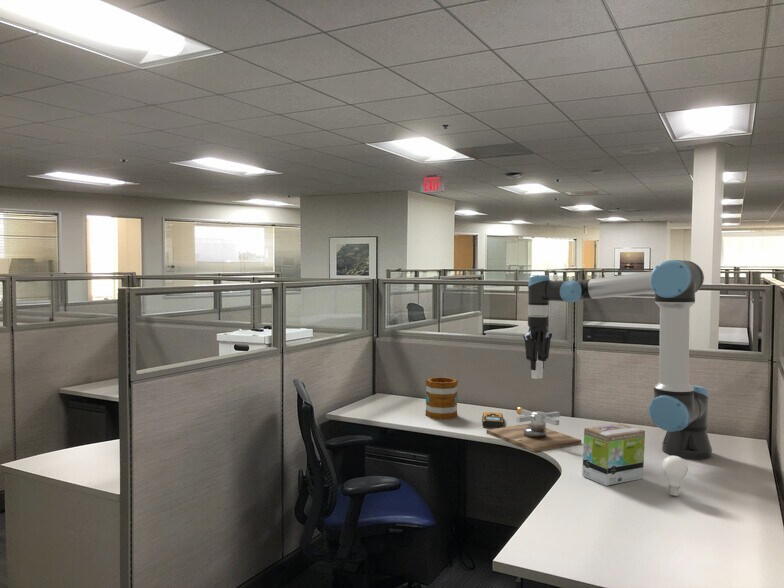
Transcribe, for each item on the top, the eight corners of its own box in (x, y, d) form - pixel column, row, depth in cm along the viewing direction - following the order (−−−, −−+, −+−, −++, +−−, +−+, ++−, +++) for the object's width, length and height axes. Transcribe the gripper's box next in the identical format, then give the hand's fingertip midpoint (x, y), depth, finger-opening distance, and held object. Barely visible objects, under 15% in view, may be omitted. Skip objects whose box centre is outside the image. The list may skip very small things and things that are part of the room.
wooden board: (581, 443, 212) (581, 439, 212) (533, 451, 202) (533, 447, 202) (531, 426, 235) (531, 422, 235) (486, 433, 225) (486, 429, 225)
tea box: (607, 487, 169) (608, 435, 169) (581, 476, 178) (582, 427, 178) (644, 479, 176) (645, 429, 176) (617, 469, 185) (618, 421, 185)
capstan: (577, 439, 212) (577, 415, 212) (536, 446, 203) (536, 421, 203) (536, 425, 230) (537, 403, 230) (497, 431, 221) (497, 409, 221)
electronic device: (502, 420, 247) (503, 412, 247) (503, 429, 231) (504, 421, 231) (482, 419, 248) (482, 411, 248) (481, 428, 233) (482, 419, 233)
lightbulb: (685, 502, 159) (686, 461, 158) (659, 497, 162) (660, 457, 162) (688, 494, 164) (689, 455, 164) (662, 490, 168) (664, 451, 167)
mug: (459, 419, 244) (459, 383, 244) (426, 419, 245) (426, 383, 244) (454, 408, 264) (455, 374, 263) (424, 408, 264) (424, 374, 264)
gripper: (544, 314, 232) (543, 375, 233) (516, 316, 225) (515, 378, 226) (559, 316, 226) (558, 378, 227) (531, 317, 218) (530, 381, 219)
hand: (537, 378), depth 226 cm, fingers open, 2 cm apart
